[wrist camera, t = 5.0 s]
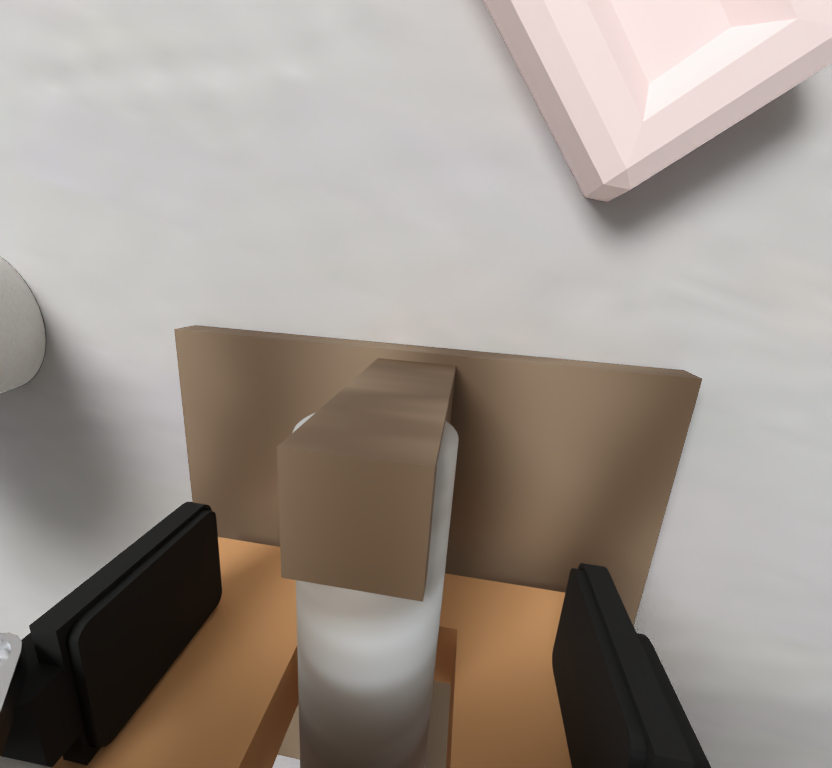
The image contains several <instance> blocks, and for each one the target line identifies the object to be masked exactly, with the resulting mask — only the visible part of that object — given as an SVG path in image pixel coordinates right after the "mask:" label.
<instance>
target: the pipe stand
mask: <svg viewBox="0 0 832 768" xmlns="http://www.w3.org/2000/svg"><path fill="white" fill-rule="evenodd" d="M174 330H175V339H176V349H177V358H178V368H179V377H180V387H181V396H182V406H183V415H184V424H185V434H186V443H187V453H188V462H189V472H190V481H191V491H192V500H193V503H200V504H206V505H209V506H210V507H211V509H212V511H213V512H215V514H216V520H217V532H218V537H221V538H228V539H234V540H240V541H246V542H253V543H259V544H265V545H271V546H278V547H280V553H281V578H286V579H292V580H296V609H297V651H298V693H299V703H298V706H297V708H296V711H295V713H294V716H293V718H292V720H291V723H290V725H289V728H288V730H287V733H286V735H285V737H284V740H283V742H282V745H281V747H280V750H279V752H278V755H282V756H287V757H291V758H296V759H300V768H446V756H447V739H448V723H449V706H450V689H451V684H447V683H442V682H437V681H434V672H435V662H436V653H437V643H438V633H439V624H440V614H441V605H442V595H443V585H444V576H445V573H446V574H452V575H459V576H465V577H471V578H477V579H484V580H490V581H496V582H502V583H508V584H515V585H521V586H527V587H533V588H540V589H546V590H552V591H558V592H566V588H567V583H568V579H569V574H570V571H571V569H572V568H576V569H578V567H579V565H580V563H585V564H591V565H598V566H604V567H606V568H607V569H608V571H609V573H610V575H611V577H612V580H613V582H614V584H615V586H616V589H617V591H618V593H619V595H620V598H621V600H622V602H623V604H624V606H625V609H626V611H627V613H628V615H629V618H630V620H631V622H632V624H633V625H634V622H635V618H636V615H637V611H638V607H639V604H640V600H641V597H642V593H643V590H644V586H645V582H646V579H647V575H648V572H649V568H650V564H651V561H652V557H653V554H654V550H655V546H656V543H657V539H658V536H659V532H660V528H661V525H662V521H663V518H664V514H665V511H666V507H667V503H668V500H669V496H670V493H671V489H672V485H673V482H674V478H675V475H676V471H677V467H678V464H679V460H680V457H681V453H682V450H683V446H684V442H685V439H686V435H687V432H688V428H689V424H690V421H691V417H692V414H693V410H694V406H695V403H696V399H697V396H698V392H699V389H700V385H701V381H702V379H701V378H699V377H697V376H695V375H693V374H691V373H689V372H686V371H684V370H674V369H663V368H652V367H642V366H631V365H620V364H609V363H598V362H587V361H576V360H566V359H555V358H544V357H533V356H522V355H511V354H500V353H489V352H479V351H468V350H457V349H446V348H435V347H424V346H413V345H403V344H392V343H381V342H370V341H359V340H348V339H337V338H326V337H316V336H305V335H294V334H283V333H272V332H261V331H250V330H240V329H229V328H218V327H207V326H196V325H195V326H189V327H184V328H179V329H174Z"/></svg>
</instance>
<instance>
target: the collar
mask: <svg viewBox="0 0 832 768" xmlns="http://www.w3.org/2000/svg"><path fill="white" fill-rule="evenodd" d="M218 545H219V557H220V570H221V582H222V596H221V599H220V602H219V604H218V605H217V607H216V608H215V610H214V611H213V612H212V614H211V615H210V616H209V617H208V619H207V620H206V621H205V623H204V624H203V625H202V626H201V628H200V629H199V630H198V632H197V633H196V634H195V635H194V637H193V638H192V639H191V641H190V642H189V643H188V645H187V646H186V647H185V648H184V650H183V651H182V652H181V654H180V655H179V656H178V657H177V659H176V660H175V661H174V663H173V664H172V665H171V667H170V668H169V669H168V670H167V672H166V673H165V674H164V676H163V677H162V678H161V679H160V681H159V682H158V683H157V685H156V686H155V687H154V688H153V690H152V691H151V692H150V694H149V695H148V696H147V698H146V699H145V700H144V701H143V703H142V704H141V705H140V707H139V708H138V709H137V710H136V712H135V713H134V714H133V716H132V717H131V718H130V720H129V721H128V722H127V723H126V725H125V726H124V727H123V729H122V730H121V731H120V732H119V734H118V735H117V736H116V738H115V739H114V740H113V741H112V742H111V743H110V744H109V745H107V746H105V747H101V749H100V750H99V751H98V752H97V754H96V755H95V756H94V757H93V759H92V760H91V761H90V763H89V764H88V765H83V764H79V763H75V762H71V761H67V760H63V756H62V757H61V758H60V759H59V760H58V761H57V763H56V764H55V765H54V766H53V767H52V768H272V767H273V764H274V762H275V759H276V757H277V754H278V752H279V750H280V747H281V745H282V742H283V740H284V737H285V735H286V733H287V730H288V728H289V725H290V723H291V720H292V718H293V716H294V713H295V711H296V708H297V706H298V703H299V693H298V651H297V609H296V580H292V579H286V578H281V553H280V547H278V546H271V545H265V544H259V543H253V542H246V541H240V540H234V539H228V538H221V537H218ZM564 597H565V592H558V591H552V590H546V589H540V588H533V587H527V586H521V585H515V584H508V583H502V582H496V581H490V580H484V579H477V578H471V577H465V576H459V575H452V574H446V573H445V576H444V585H443V595H442V605H441V614H440V624H439V633H438V643H437V653H436V662H435V672H434V681H437V682H442V683H447V684H451V689H450V706H449V723H448V739H447V756H446V768H572V765H571V760H570V755H569V750H568V745H567V740H566V735H565V729H564V724H563V719H562V714H561V709H560V704H559V699H558V694H557V689H556V684H555V678H554V673H553V667H552V652H553V647H554V643H555V638H556V633H557V629H558V624H559V620H560V615H561V611H562V606H563V602H564Z"/></svg>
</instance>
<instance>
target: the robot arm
mask: <svg viewBox="0 0 832 768" xmlns="http://www.w3.org/2000/svg"><path fill="white" fill-rule="evenodd" d="M221 596H222V582H221V570H220V557H219V545H218V532H217V520H216V514H215V512H213V511H212V509H211V507H210V506H209V505H206V504H200V503H193V502H186V503H184V504H182V505H181V506H180V507H179V508H177V509H176V510H175V511H174V512H172V513H171V514H170V515H168V516H167V517H166V518H165V519H163V520H162V521H161V522H160V523H158V524H157V525H156V526H155V527H153V528H152V529H151V530H150V531H148V532H147V533H146V534H144V535H143V536H142V537H141V538H139V539H138V540H137V541H136V542H134V543H133V544H132V545H131V546H129V547H128V548H127V549H126V550H124V551H123V552H122V553H120V554H119V555H118V556H117V557H115V558H114V559H113V560H112V561H110V562H109V563H108V564H107V565H105V566H104V567H103V568H102V569H100V570H99V571H98V572H96V573H95V574H94V575H93V576H91V577H90V578H89V579H88V580H86V581H85V582H84V583H83V584H81V585H80V586H79V587H78V588H76V589H75V590H74V591H72V592H71V593H70V594H69V595H67V596H66V597H65V598H64V599H62V600H61V601H60V602H59V603H57V604H56V605H55V606H54V607H52V608H51V609H50V610H48V611H47V612H46V613H45V614H43V615H42V616H41V617H40V618H38V619H37V620H36V621H35V622H33V623H32V624H31V625H30V626H29V627H30V631H31V633H30V634H28V635H27V636H26V637H25V638H23V639H22V640H20V638H19V637H18V636H17V635H14V634H11V633H0V768H52V767H53V766H54V765H55V764H56V763H57V761H58V760H59V759H60V758H61V757H62V756H63V760H67V761H71V762H75V763H79V764H83V765H88V764H89V763H90V761H91V760H92V759H93V757H94V756H95V755H96V754H97V752H98V751H99V750H100V749H101V747H105V746H107V745H109V744H110V743H111V742H112V741H113V740H114V739H115V738H116V736H117V735H118V734H119V732H120V731H121V730H122V729H123V727H124V726H125V725H126V723H127V722H128V721H129V720H130V718H131V717H132V716H133V714H134V713H135V712H136V710H137V709H138V708H139V707H140V705H141V704H142V703H143V701H144V700H145V699H146V698H147V696H148V695H149V694H150V692H151V691H152V690H153V688H154V687H155V686H156V685H157V683H158V682H159V681H160V679H161V678H162V677H163V676H164V674H165V673H166V672H167V670H168V669H169V668H170V667H171V665H172V664H173V663H174V661H175V660H176V659H177V657H178V656H179V655H180V654H181V652H182V651H183V650H184V648H185V647H186V646H187V645H188V643H189V642H190V641H191V639H192V638H193V637H194V635H195V634H196V633H197V632H198V630H199V629H200V628H201V626H202V625H203V624H204V623H205V621H206V620H207V619H208V617H209V616H210V615H211V614H212V612H213V611H214V610H215V608H216V607H217V605H218V604H219V602H220V599H221ZM552 667H553V673H554V678H555V684H556V689H557V694H558V699H559V704H560V709H561V714H562V719H563V724H564V729H565V735H566V740H567V745H568V750H569V755H570V760H571V765H572V768H711V767H710V764H709V762H708V760H707V758H706V756H705V754H704V752H703V750H702V748H701V746H700V743H699V741H698V739H697V737H696V735H695V733H694V731H693V729H692V727H691V725H690V722H689V720H688V718H687V716H686V714H685V712H684V710H683V708H682V706H681V704H680V702H679V699H678V697H677V695H676V693H675V691H674V689H673V687H672V685H671V683H670V681H669V678H668V676H667V674H666V672H665V670H664V668H663V666H662V664H661V662H660V660H659V658H658V655H657V653H656V651H655V649H654V647H653V645H652V643H651V642H650V640H649V638H647V637H646V636H645V635H644V634H638V633H636V631H635V629H634V627H633V624H632V622H631V620H630V618H629V615H628V613H627V611H626V609H625V606H624V604H623V602H622V600H621V598H620V595H619V593H618V591H617V589H616V586H615V584H614V582H613V580H612V577H611V575H610V573H609V571H608V569H607V568H606V567H604V566H598V565H591V564H585V563H580V565H579V567H578V569H576V568H572V569H571V571H570V574H569V579H568V583H567V588H566V592H565V597H564V602H563V606H562V611H561V615H560V620H559V624H558V629H557V633H556V638H555V643H554V647H553V652H552Z"/></svg>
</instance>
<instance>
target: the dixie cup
mask: <svg viewBox="0 0 832 768" xmlns="http://www.w3.org/2000/svg"><path fill="white" fill-rule="evenodd" d="M45 345H46V337H45V328H44V323H43V319H42V315H41V312H40V309H39V307H38V304H37V302H36V300H35V298H34V296H33V294H32V292H31V291H30V289H29V287H28V286H27V284H26V283H25V281H24V280H23V279H22V277H21V276H20V275H19V274H18V273H17V271H16V270H15V269H14V268H13V267H12V266H11V265H10V264H9V263H8V262H6V261H5V260H4V259H3V258H1V257H0V394H1V393H4V392H6V391H9V390H12V389H14V388H17V387H20V386H22V385H24V384H26V383H27V382H28V381H30V380H31V379H32V378H33V377H34V376H35V374H36V373H37V372H38V370H39V368H40V366H41V364H42V361H43V358H44V354H45Z"/></svg>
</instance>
